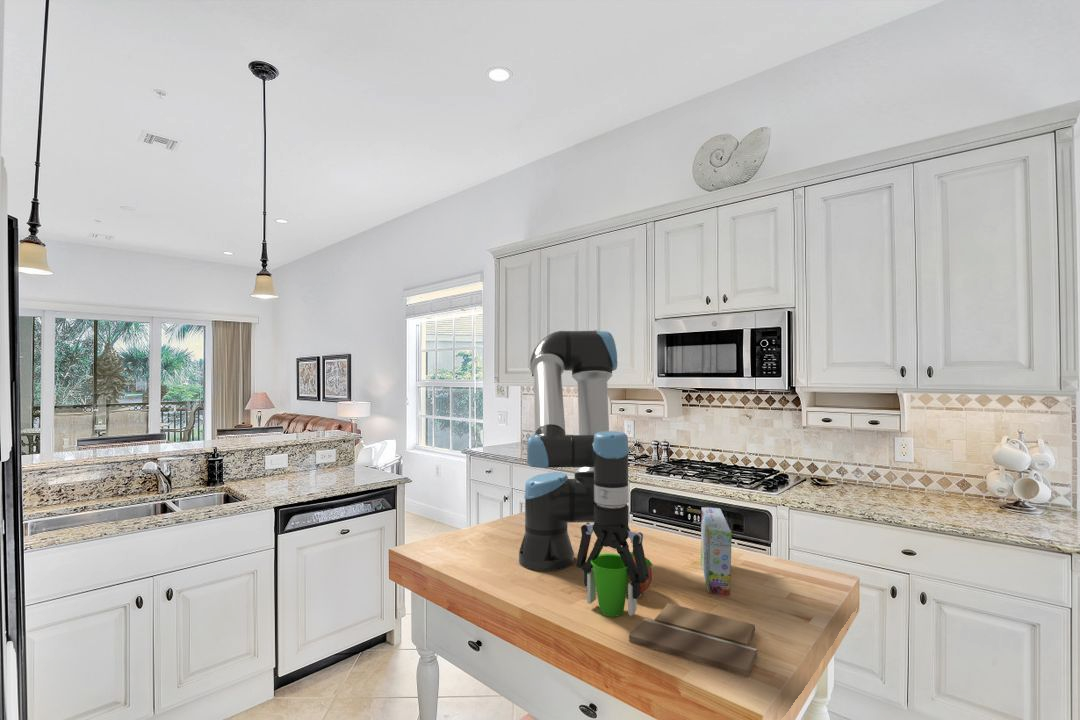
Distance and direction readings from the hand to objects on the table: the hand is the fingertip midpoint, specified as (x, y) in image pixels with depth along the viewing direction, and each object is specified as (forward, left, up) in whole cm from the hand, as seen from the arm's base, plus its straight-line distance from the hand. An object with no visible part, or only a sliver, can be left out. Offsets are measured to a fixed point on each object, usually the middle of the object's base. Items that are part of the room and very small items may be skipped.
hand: (611, 606), depth 117 cm
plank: (+19, +3, -1) cm, 19 cm away
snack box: (+14, +31, -1) cm, 34 cm away
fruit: (0, +12, -1) cm, 12 cm away
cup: (0, 0, -1) cm, 1 cm away
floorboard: (+19, -5, -1) cm, 20 cm away
